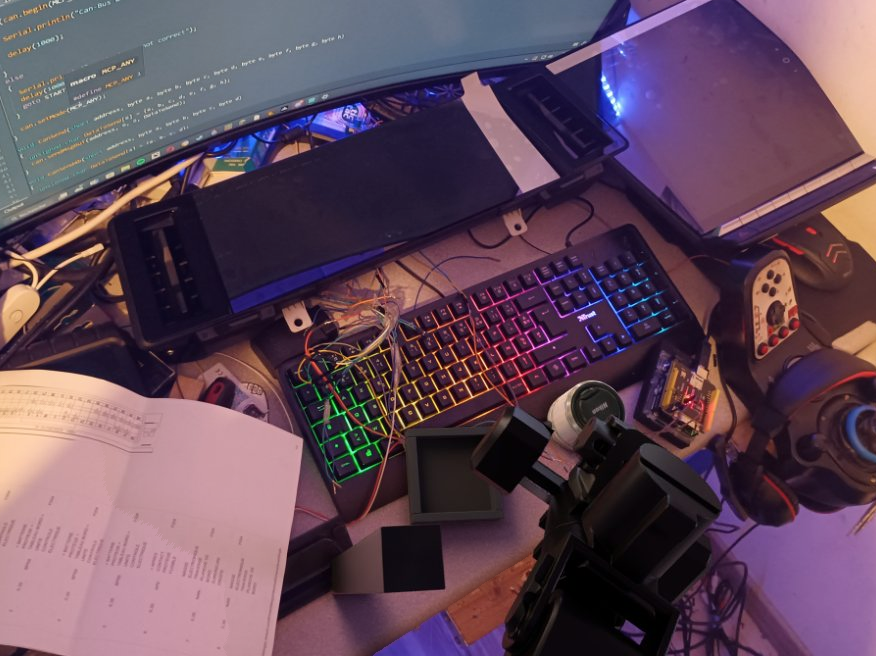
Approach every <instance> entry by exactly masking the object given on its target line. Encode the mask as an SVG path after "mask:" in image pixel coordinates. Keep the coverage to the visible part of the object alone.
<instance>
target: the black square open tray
mask: <svg viewBox="0 0 876 656" xmlns="http://www.w3.org/2000/svg"><path fill="white" fill-rule="evenodd" d="M491 427H492V426H473V427H472V426H471V427H466V426H465V427H435V428H433V427H432V428H431V427H429V428H408V429H407V430H406V431H404V447H405V463H406V479H407V480H406V481H407V494H408V495H407V496H408V511H409V525H425V524H459V523H460V524H461V523H480V522H481V523H483V522H499V521H501V520H503V519H505V514H504V513H505V512H504V504H503V503H504V502H503V493H501V492H500V491H498V490H497V489H496V488H494V487H493V486H491V485H490V484H488V483H487V482H486V481H484V480H483V479H481V478H480V477H479V476H477V475H476V474H474V473H473V472H471V468H470V458H471V456H472V453H473V451H474V450H475V449H476V447H477V446H478V445H479V443H480V442H481V441H482V439H483V438H484V437H485V435H486V434H487V433H488V431H489V430H490V429H491Z"/></svg>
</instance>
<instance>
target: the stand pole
mask: <svg viewBox="0 0 876 656" xmlns="http://www.w3.org/2000/svg"><path fill="white" fill-rule="evenodd" d="M442 538H443V537H442V526H441V523H439V524H417V525H410V524H407V525H405V524H403V525H386V526H385V525H383V526H380V527H378V528H377V529H376V530H374V531H373V532H371V533H370V534H368V535H367V536H365V537H364V538H362V539H361V540H360V541H358V542H356V543H355V544H353V545H352V546H350V547H349V548H347V549H346V550H345V551H343V552H341V553H340V554H339V555H337V556H336V557H334V558H332V559H331V594H332V595H358V594H359V595H360V594H394V593H395V594H396V593H410V592H426V591H427V592H428V591H442V590H443V591H445V590H446V577H445V564H444V563H445V562H444V555H443V554H444V552H443V551H444V550H443V539H442Z"/></svg>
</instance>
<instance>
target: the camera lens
mask: <svg viewBox="0 0 876 656" xmlns="http://www.w3.org/2000/svg"><path fill="white" fill-rule="evenodd" d="M611 414H612V415H613V416H615V417H616V418H618V419H619V420H621V421H622V422H625V423H626V421H627V410H626V406H625V403H624V400H623V398H622V397H621V395H620V394H619V393H618V392H617V391H616V390H615V388H613V387H612V386H611V385H610V384H607V383H606V382H603V381H600V380H595V379H593V380H592V379H590V380H584V381H580V382H579V383H577V384H576V385H574V386H573V387H572V388H570V389H568V390H567V391H566V392H565V393H563V394H562V395H560V396H558V397H557V399H556V400H555V401H553V403H552V404H551V406H550V408H549V410H548V413H547V421H548V420H549V421H551V422H552V429H553V430H554V433H553V434H552V435H551V437H552V438H553V439H554V440H555V442H556V443H557V444H558V445H559V446H561V447H563V448H564V449H567V450H569V451H573V452H574V450H573V448H572V446H573V443H574V441H575V440H576V438H577V437H578V435H579V434H580V433H581V431H582V430H583V428H584V427H585V425H586V424H587V422H588V421H589V420H590V419H591V418H592V417H596V418H598V419H599V420H601V421H605V420H606V419H607V418H608V416H609V415H611Z"/></svg>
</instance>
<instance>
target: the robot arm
mask: <svg viewBox="0 0 876 656" xmlns="http://www.w3.org/2000/svg"><path fill="white" fill-rule="evenodd" d="M490 427H491V429H490V430H489V431H488V433H487V434H486V435H485V437H484V438H483V439H482V441H481V442H480V443H479V445H478V446H477V447H476V449H475V450H474V451H473V453H472V456H471V458H470V468H471V472H473V473H474V474H476V475H477V476H479V477H480V478H481V479H483V480H484V481H486V482H487V483H488V484H490V485H491V486H493V487H494V488H496V489H497V490H498V491H500V492H501V494H502V495H504V496H509V495H511V494H512V493H513V492H514V490H515V489H516V488H517V486H518V485H520V486H521V487H522V488H524V489H525V490H527V491H528V492H530V493H531V494H532V495H534V496H535V497H536V498H538V499H539V500H541V501H542V502H544V503H545V504H547V505H548V508H547V509H546V510H545V512H543V514H542V515H541V516H540V518H539V519H538V525H537V526H538V527H539V528H540V529H542V530H543V531H544V532H543V533H544V534H543V538H542V539H541V540H540V542H539V543H538V544H537V545H536V546H535V547H534V548H533V552H532V559H534V560H535V561H536V562H535V563H534V565H533V566H532V569H531V571H530V572H529V574H528V576H527V577H526V579H525V581H524V583H523V584H522V586H521V588H520V590H519V592H518V594H517V595H516V597H515V599H514V601H513V602H512V604H511V606H510V608H509V610H508V611H507V614H506V615H505V617H504V622H503V623H504V628H505V630H504V632H503V636H502V639H501V648H502V649H503V650H504V653H503V656H667V654H668V652H669V650H670V646H671V643H672V640H673V637H674V635H675V632H676V630H677V626H678V624H679V621H680V618H681V615H682V610H681V609H680V608H678V607H677V606H676V605H674V604H677V603H678V602H680V600H681V599H682V598H683V597H684V596H685V595H686V594H687V593H688V592H689V591H690V590H691V589H692V588H693V587H694V586H695V585H696V584H697V583H698V582H699V581H700V580H701V579H702V578H703V577H704V576H705V575H706V574H707V573H708V572H709V571H710V570H711V567H712V565H713V563H714V561H715V559H714V553H713V548H712V543H711V538H710V537H708V536H707V535H705V534H704V533H705V532H706V531H707V530H708V529H709V528H710V527H711V526H712V525H713V524H714V523H715V522H716V520H718V519H719V517H720V515H721V513H723V505H722V503H721V500H720V499H719V497H718V495H717V493H716V492H715V491H714V489H713V488H712V487H711V486H710V484H709V483H708V482H707V480H705V478H703V477H702V476H701V475H700V474H699V473H698V471H696V469H694V468H693V467H692V466H691V465H689V464H688V463H687V462H685V461H684V460H683V459H681V458H680V457H679V456H678V455H675V454H674V453H673V452H672V451H670V450H668V449H667V448H666V447H664V446H663V445H661V444H660V443H659V442H656V441H655V440H654V439H652V438H650V437H649V436H648V435H647V434H645V433H644V432H642V431H641V430H639V429H637V428H636V427H634V426H633V425H632V424H630V423H628V422H626V421H625V422H622V421H621V420H619V419H618V418H616V417H615V416H613V415H612V414H611V415H609V416H608V418H607V419H606V420H605V421H601V420H599V419H598V418H596V417H592V418H591V419H590V420H589V421H588V422H587V424H586V425H585V427H584V428H583V430H582V431H581V433H580V434H579V435H578V437H577V438H576V440H575V441H574V443H573V446H572V448H573V450H574V451H573V452H574V453H576V454H577V455H579V459H578V460H577V462H576V464H575V465H574V466H573V467H572V469H570V471H569V472H568V477H567V479H566V478H565V477H563V476H562V475H561V474H559V473H557V472H556V471H554V470H553V469H552V468H550V467H549V466H547V465H546V464H544V462H541V461H540V460H539V459H540V457H541V456H542V454H543V453H544V452H545V450H546V448H547V447H548V444H549V443H550V441H551V437H552V434H553V433H554V430H553V429H552V422H551V421H549V420H548V419H547V420H546V421H544V422H543V421H542V420H540V419H539V418H537V417H535V416H534V415H533V414H531V413H529V412H527V411H525V410H523V409H522V408H521V407H519V406H517V405H511V406H506V407H505V409H503V411H502V413H501V414H500V415H499V416H498V418H497V419H496V420H495V421H494V423H493V425H492V426H490ZM626 621H627V622H628V623H630V624H631V625H633V626H634V627H635V628H637V629H638V630H639V631H641V632H643V633H644V635H643V637H642V639H641V641H640V642H639V643H637V642H636V641H635V640H633V639H632V638H631V637H629V636H628V635H626V634H625V633H624V632H623V631H621V629H622V628H623V627H624V626H625V623H626Z"/></svg>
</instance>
